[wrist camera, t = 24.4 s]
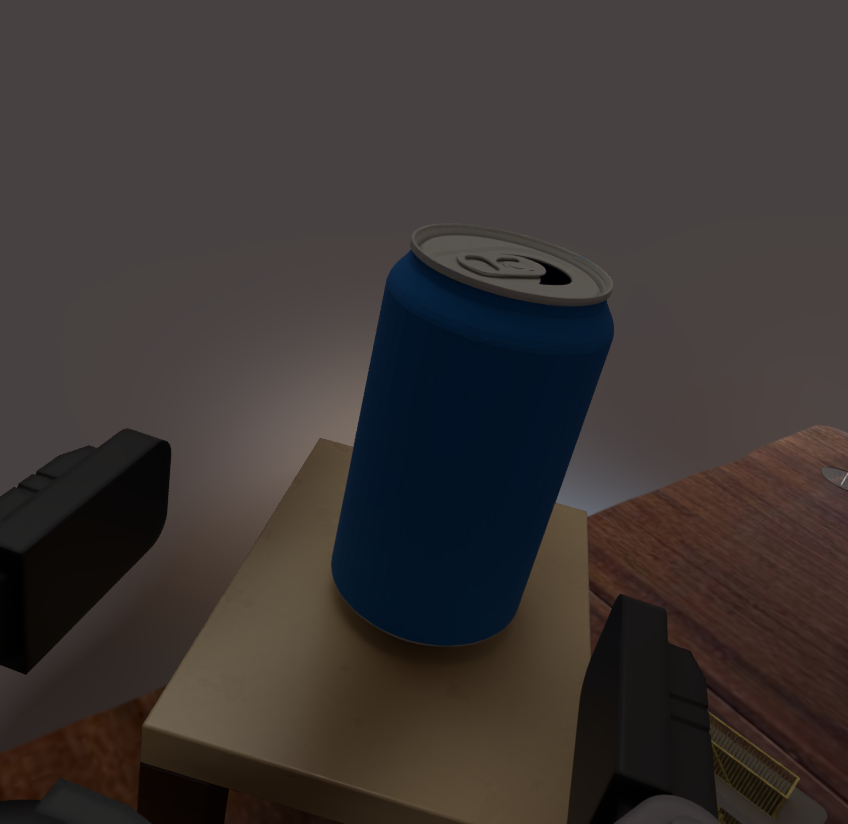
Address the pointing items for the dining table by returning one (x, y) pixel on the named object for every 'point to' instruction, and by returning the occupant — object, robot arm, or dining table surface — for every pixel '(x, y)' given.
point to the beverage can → (467, 429)
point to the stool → (369, 690)
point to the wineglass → (836, 476)
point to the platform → (756, 786)
